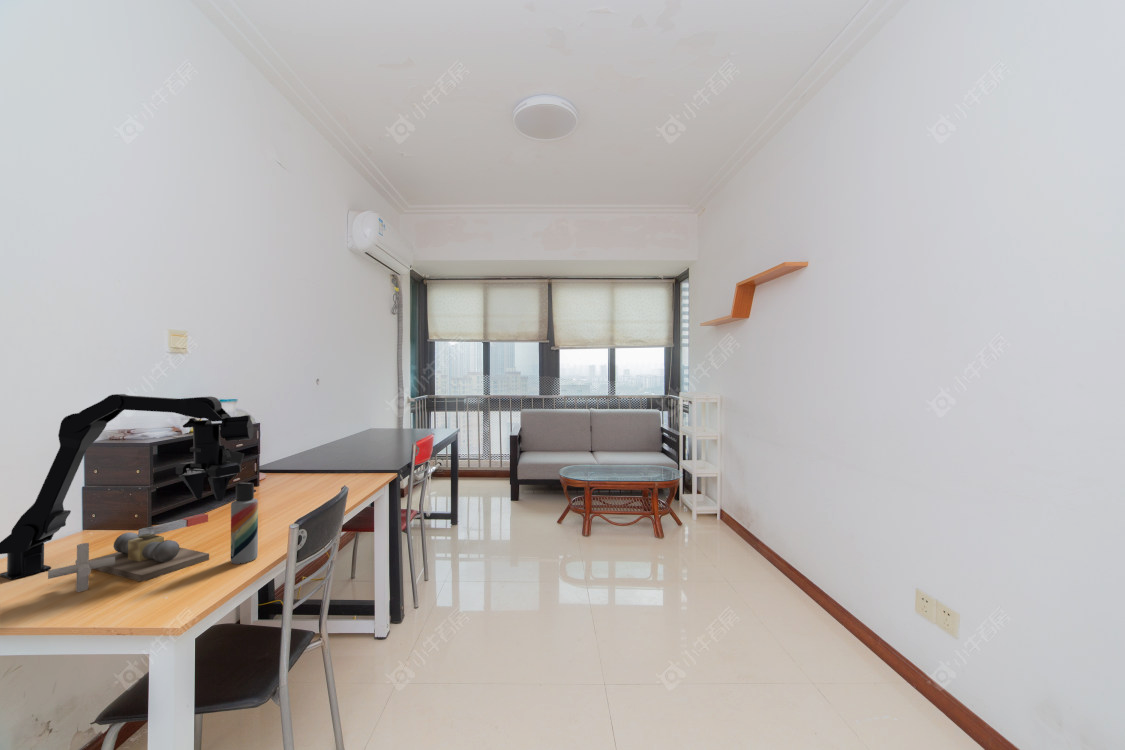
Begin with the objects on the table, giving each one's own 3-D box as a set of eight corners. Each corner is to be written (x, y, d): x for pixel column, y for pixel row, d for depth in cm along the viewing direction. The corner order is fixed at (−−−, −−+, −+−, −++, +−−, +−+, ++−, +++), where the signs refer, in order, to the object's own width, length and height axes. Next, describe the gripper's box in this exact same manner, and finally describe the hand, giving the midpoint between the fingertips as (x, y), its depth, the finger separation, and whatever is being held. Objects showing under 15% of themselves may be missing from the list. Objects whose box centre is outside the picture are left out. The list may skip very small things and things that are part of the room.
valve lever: (142, 539, 112) (142, 531, 112) (135, 537, 113) (135, 529, 113) (208, 521, 126) (208, 514, 126) (201, 520, 127) (201, 513, 127)
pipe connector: (111, 576, 105) (112, 533, 106) (117, 588, 99) (117, 542, 99) (46, 591, 98) (47, 545, 98) (48, 605, 91) (49, 556, 92)
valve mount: (85, 566, 111) (85, 540, 111) (153, 547, 124) (154, 524, 124) (141, 581, 102) (142, 553, 102) (209, 559, 115) (209, 534, 115)
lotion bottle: (225, 562, 113) (225, 483, 113) (247, 554, 118) (248, 479, 119) (240, 565, 111) (241, 485, 112) (262, 557, 116) (263, 480, 117)
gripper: (259, 438, 125) (261, 494, 125) (218, 438, 132) (220, 490, 132) (215, 445, 115) (218, 505, 115) (173, 443, 122) (175, 500, 122)
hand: (209, 500), depth 121 cm, fingers open, 9 cm apart
